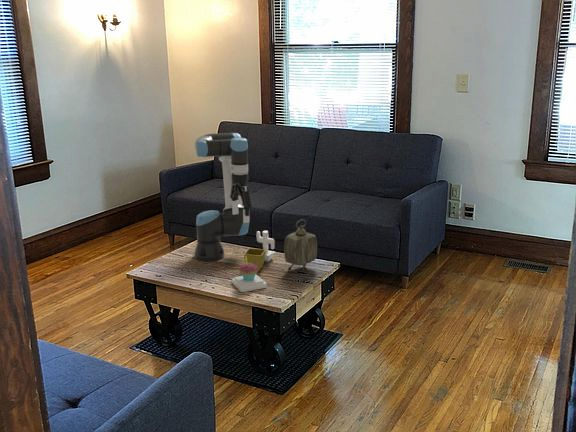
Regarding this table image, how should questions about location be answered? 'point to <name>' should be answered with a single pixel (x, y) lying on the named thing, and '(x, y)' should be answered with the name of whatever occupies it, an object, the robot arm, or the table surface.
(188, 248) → the table surface
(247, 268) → the cupcake
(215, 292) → the table surface
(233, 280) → the pedestal
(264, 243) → the figurine
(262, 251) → the flower pot
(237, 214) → the robot arm
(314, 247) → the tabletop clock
